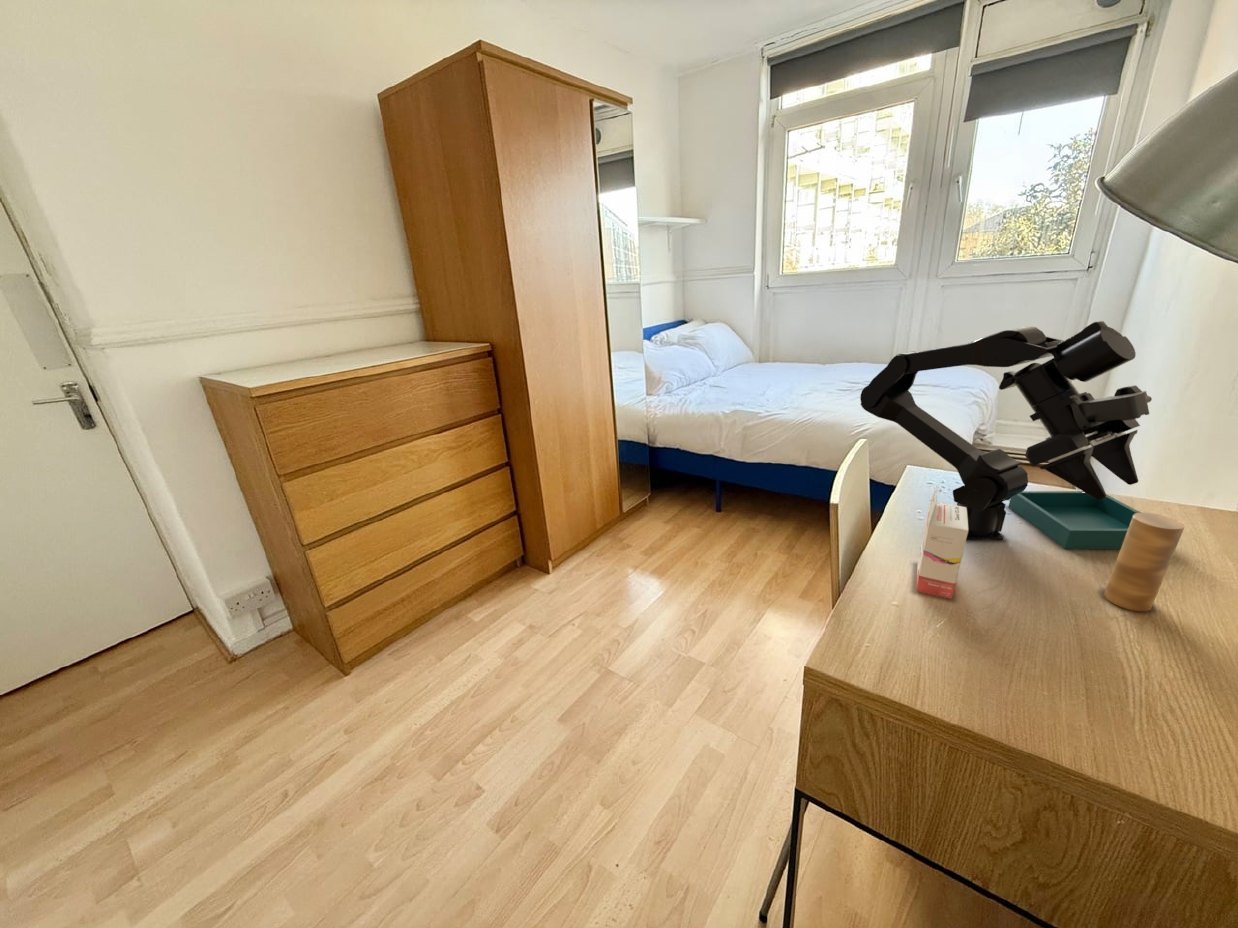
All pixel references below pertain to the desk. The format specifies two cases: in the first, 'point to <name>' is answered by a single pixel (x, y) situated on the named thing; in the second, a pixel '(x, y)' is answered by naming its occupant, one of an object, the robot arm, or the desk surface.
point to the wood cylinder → (1143, 560)
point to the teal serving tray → (1075, 518)
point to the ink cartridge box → (941, 548)
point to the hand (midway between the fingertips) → (1118, 490)
